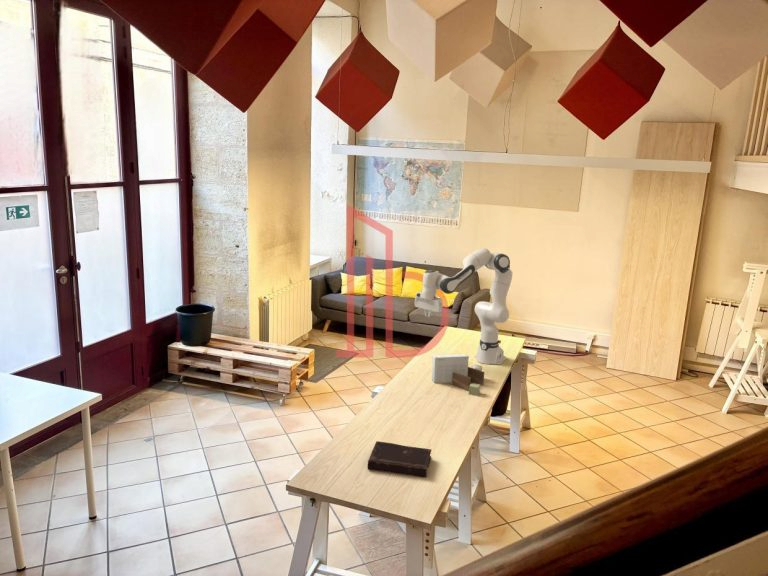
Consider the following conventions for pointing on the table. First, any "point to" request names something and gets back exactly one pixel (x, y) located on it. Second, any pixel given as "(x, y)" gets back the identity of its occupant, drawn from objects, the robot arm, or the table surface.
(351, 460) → the table surface
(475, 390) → the olive block
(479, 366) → the grey rounded capsule
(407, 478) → the table surface
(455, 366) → the skincare box
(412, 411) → the table surface
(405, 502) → the table surface
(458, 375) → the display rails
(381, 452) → the diary
